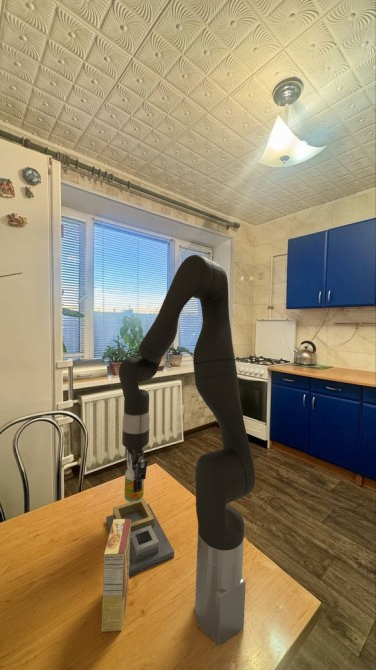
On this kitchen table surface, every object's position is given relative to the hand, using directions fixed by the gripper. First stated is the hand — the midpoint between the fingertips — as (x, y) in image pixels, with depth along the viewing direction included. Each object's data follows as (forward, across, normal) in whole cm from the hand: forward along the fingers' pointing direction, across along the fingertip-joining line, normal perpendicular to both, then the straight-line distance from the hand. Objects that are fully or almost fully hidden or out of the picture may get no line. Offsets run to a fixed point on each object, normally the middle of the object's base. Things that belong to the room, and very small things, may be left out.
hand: (134, 484), depth 73 cm
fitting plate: (+12, -5, 0) cm, 13 cm away
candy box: (+12, -19, +9) cm, 25 cm away
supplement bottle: (+4, 0, 0) cm, 4 cm away
